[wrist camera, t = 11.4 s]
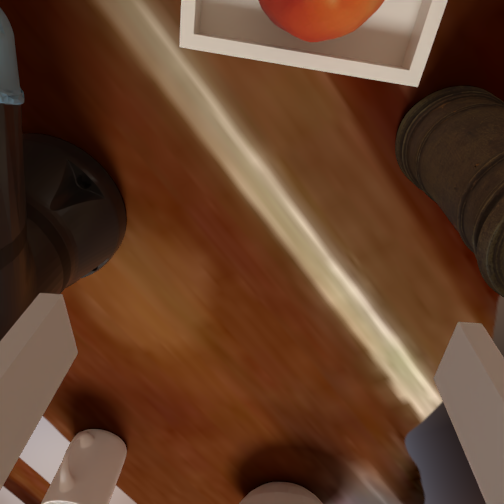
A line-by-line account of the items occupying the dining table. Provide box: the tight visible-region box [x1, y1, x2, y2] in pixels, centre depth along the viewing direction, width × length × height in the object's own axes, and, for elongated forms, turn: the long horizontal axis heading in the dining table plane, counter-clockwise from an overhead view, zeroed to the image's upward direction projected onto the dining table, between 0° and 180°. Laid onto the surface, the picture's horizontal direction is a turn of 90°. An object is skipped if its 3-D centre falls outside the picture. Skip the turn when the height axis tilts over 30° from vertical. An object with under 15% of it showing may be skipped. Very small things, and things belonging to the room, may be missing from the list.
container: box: [395, 86, 504, 297], centre depth 27 cm, size 9×9×18 cm
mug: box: [41, 429, 127, 504], centre depth 58 cm, size 9×12×11 cm
